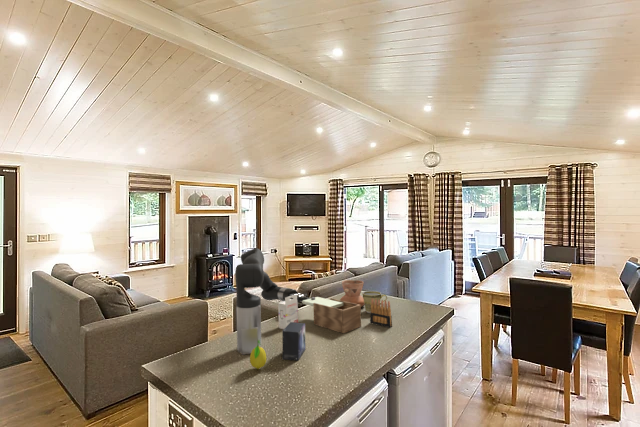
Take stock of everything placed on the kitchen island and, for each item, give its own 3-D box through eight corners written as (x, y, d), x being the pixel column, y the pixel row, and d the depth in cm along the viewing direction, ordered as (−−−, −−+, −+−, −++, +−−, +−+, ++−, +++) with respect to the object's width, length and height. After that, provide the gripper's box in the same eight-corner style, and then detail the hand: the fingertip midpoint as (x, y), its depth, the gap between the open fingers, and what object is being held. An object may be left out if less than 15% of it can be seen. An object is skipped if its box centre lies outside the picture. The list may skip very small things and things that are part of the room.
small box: (299, 361, 119) (298, 331, 119) (281, 360, 120) (281, 330, 120) (306, 349, 129) (305, 322, 129) (290, 348, 130) (289, 321, 130)
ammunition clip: (392, 326, 154) (391, 300, 154) (390, 327, 152) (389, 301, 152) (372, 322, 160) (371, 297, 161) (370, 323, 159) (369, 297, 159)
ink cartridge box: (290, 323, 161) (290, 292, 161) (298, 325, 158) (297, 294, 158) (278, 328, 154) (277, 296, 154) (286, 330, 151) (285, 297, 151)
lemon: (260, 363, 118) (259, 334, 118) (271, 367, 114) (271, 338, 114) (244, 370, 112) (244, 340, 112) (256, 375, 109) (255, 344, 109)
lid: (343, 305, 161) (343, 300, 161) (328, 310, 153) (328, 304, 153) (317, 299, 173) (317, 294, 173) (302, 303, 166) (302, 298, 166)
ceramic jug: (357, 312, 177) (357, 285, 178) (334, 308, 185) (334, 282, 185) (371, 304, 193) (371, 280, 193) (348, 301, 200) (349, 277, 201)
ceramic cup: (361, 313, 174) (360, 294, 174) (364, 308, 184) (364, 290, 184) (386, 315, 171) (386, 295, 171) (388, 310, 180) (387, 291, 180)
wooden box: (361, 326, 154) (360, 304, 154) (343, 333, 146) (343, 310, 146) (331, 318, 168) (330, 298, 168) (313, 324, 159) (313, 303, 159)
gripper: (277, 290, 178) (299, 295, 165) (296, 286, 187) (318, 290, 175) (278, 304, 178) (299, 310, 165) (296, 299, 187) (318, 305, 175)
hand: (309, 300), depth 170 cm, fingers closed
